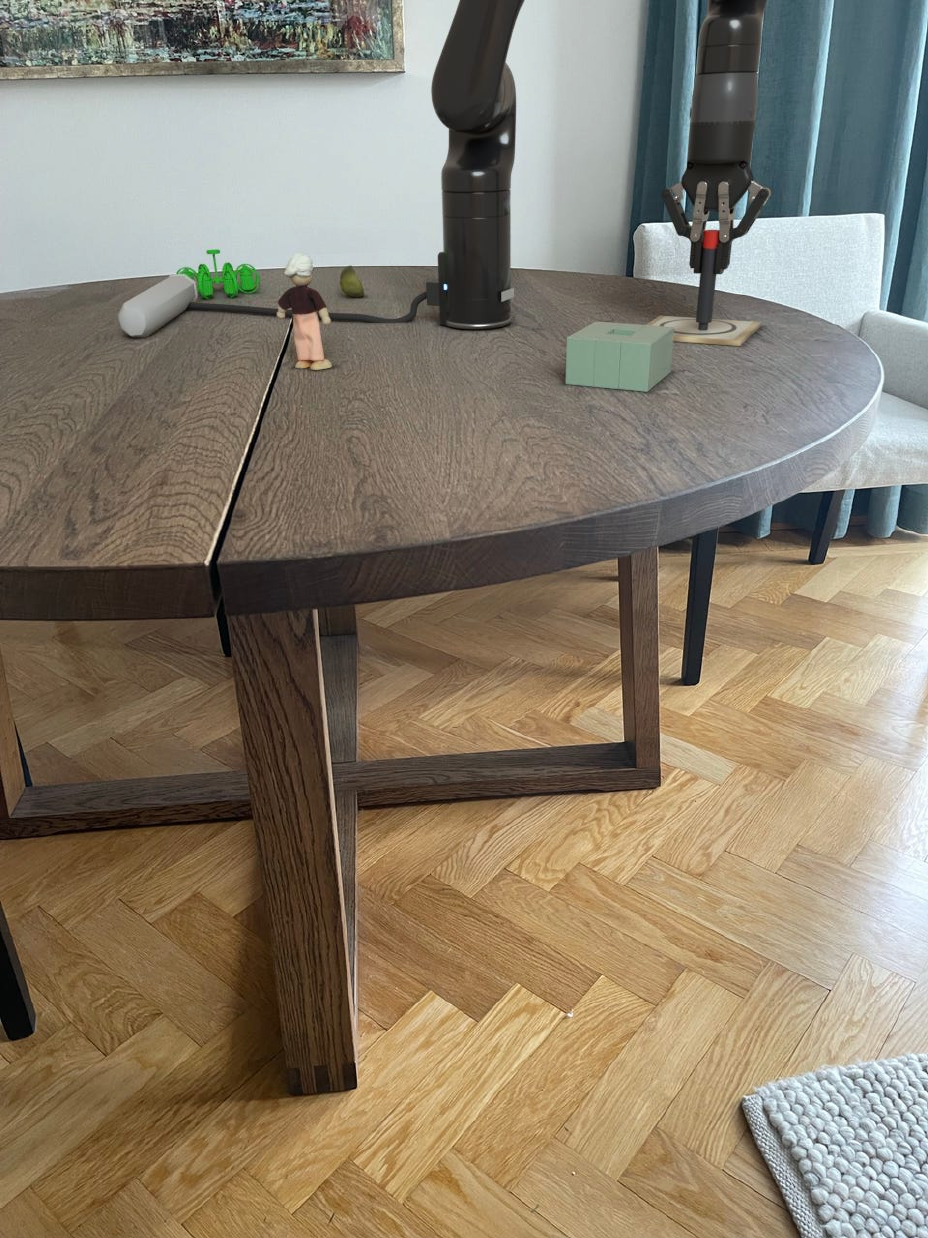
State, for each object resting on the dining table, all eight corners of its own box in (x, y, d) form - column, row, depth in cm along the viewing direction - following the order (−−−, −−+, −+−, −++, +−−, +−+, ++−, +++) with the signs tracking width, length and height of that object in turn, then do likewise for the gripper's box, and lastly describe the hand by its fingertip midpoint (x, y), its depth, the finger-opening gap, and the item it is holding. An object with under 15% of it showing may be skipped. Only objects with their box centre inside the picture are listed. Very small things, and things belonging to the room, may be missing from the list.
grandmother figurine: (345, 364, 112) (336, 252, 106) (331, 371, 109) (320, 256, 103) (289, 360, 114) (276, 250, 108) (273, 368, 111) (259, 255, 105)
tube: (153, 309, 125) (201, 278, 147) (113, 297, 124) (167, 268, 146) (148, 348, 128) (195, 312, 149) (109, 336, 127) (162, 301, 149)
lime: (352, 294, 156) (349, 262, 154) (374, 296, 154) (371, 264, 151) (334, 298, 153) (331, 266, 151) (356, 300, 151) (353, 268, 148)
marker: (692, 330, 121) (702, 231, 115) (696, 327, 122) (706, 229, 117) (708, 331, 120) (719, 231, 114) (712, 328, 122) (722, 229, 116)
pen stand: (565, 383, 102) (566, 337, 99) (593, 365, 109) (595, 321, 106) (647, 392, 98) (650, 343, 95) (670, 372, 105) (674, 326, 103)
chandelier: (194, 285, 168) (188, 244, 165) (274, 285, 166) (269, 244, 163) (159, 300, 155) (152, 256, 152) (245, 300, 153) (240, 255, 150)
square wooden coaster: (631, 337, 121) (631, 331, 121) (659, 319, 131) (659, 313, 131) (740, 346, 116) (740, 339, 115) (760, 326, 126) (761, 320, 125)
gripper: (788, 115, 110) (769, 270, 118) (673, 119, 115) (663, 266, 124) (777, 116, 104) (758, 279, 112) (656, 120, 109) (646, 275, 118)
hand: (708, 272), depth 118 cm, fingers closed on marker, 2 cm apart
